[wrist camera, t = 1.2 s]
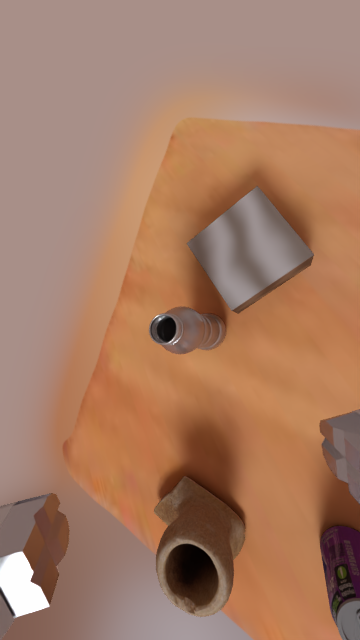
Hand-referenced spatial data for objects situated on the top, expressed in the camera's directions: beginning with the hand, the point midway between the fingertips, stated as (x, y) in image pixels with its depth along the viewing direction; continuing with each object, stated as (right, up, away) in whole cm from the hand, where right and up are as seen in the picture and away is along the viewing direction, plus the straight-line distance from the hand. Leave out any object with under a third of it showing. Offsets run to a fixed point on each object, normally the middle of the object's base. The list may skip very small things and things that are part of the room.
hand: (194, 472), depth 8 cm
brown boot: (+4, -29, +39) cm, 49 cm away
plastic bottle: (+5, +2, +41) cm, 41 cm away
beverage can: (+24, -29, +31) cm, 49 cm away
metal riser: (+12, +15, +38) cm, 43 cm away
